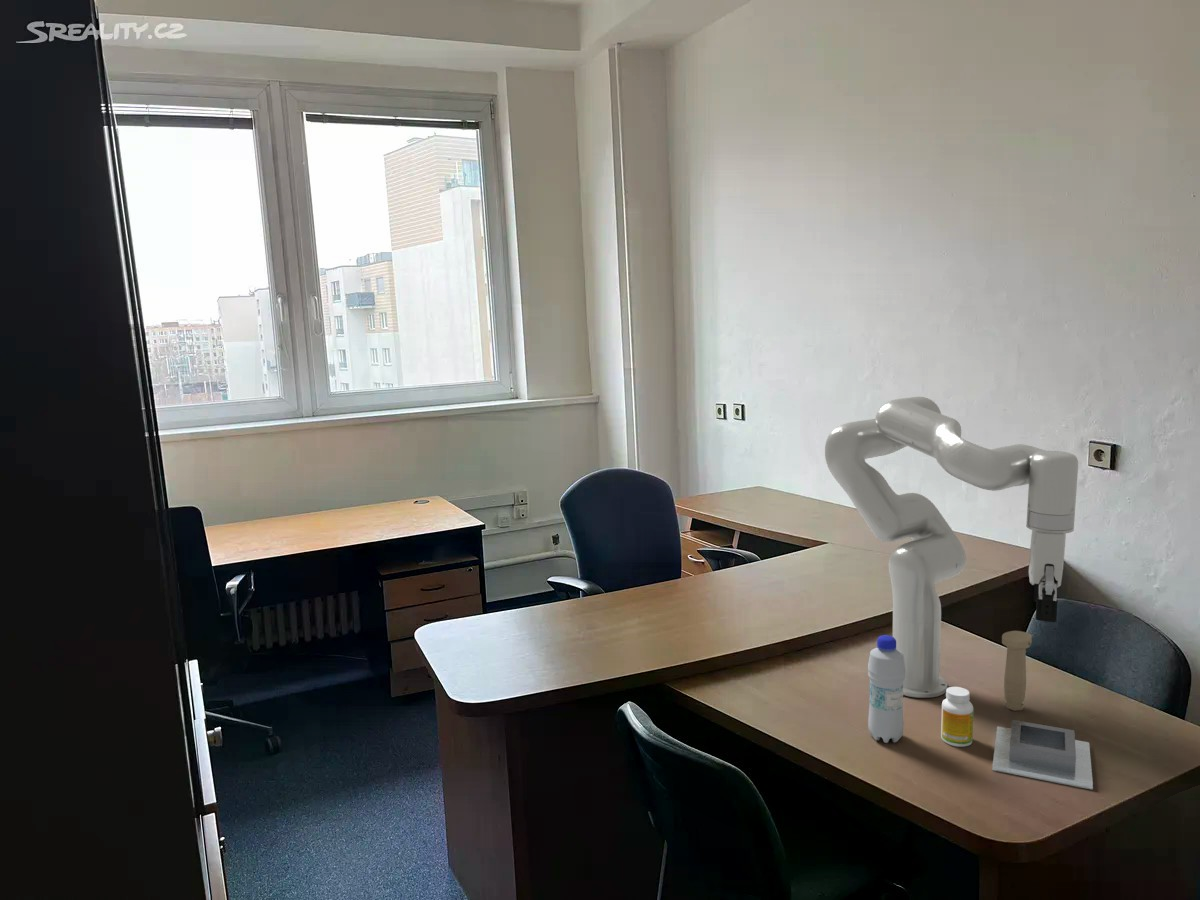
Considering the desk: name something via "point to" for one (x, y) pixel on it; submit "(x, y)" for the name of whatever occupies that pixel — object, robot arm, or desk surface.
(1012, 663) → the handle
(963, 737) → the supplement bottle
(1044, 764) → the socket
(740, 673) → the desk surface
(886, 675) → the bottle
